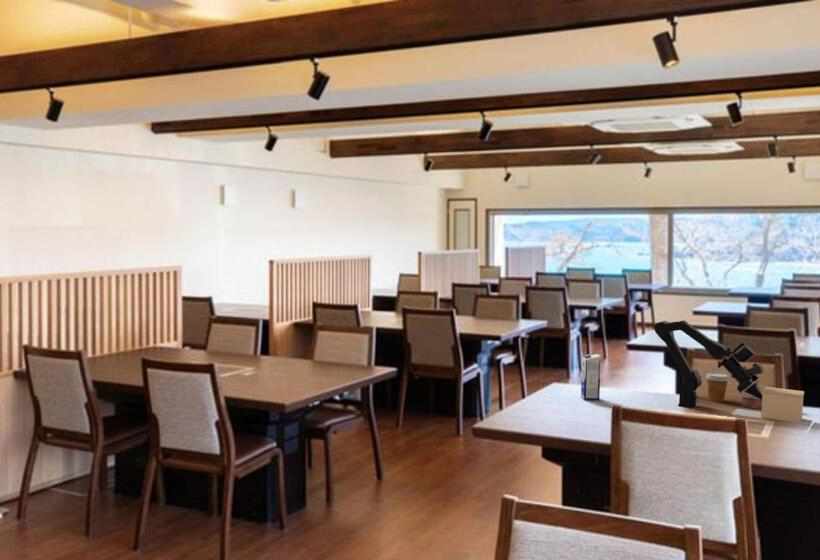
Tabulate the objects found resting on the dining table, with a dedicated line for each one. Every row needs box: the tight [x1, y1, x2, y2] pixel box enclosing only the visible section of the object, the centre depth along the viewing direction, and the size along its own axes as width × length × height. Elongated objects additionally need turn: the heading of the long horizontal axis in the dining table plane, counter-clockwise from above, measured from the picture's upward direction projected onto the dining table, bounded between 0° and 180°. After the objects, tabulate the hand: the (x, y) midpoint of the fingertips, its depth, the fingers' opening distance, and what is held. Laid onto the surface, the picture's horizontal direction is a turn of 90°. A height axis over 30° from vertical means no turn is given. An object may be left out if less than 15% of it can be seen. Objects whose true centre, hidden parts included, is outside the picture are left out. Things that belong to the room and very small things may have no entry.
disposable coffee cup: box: [705, 372, 730, 403], centre depth 348 cm, size 10×10×12 cm
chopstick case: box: [741, 394, 762, 410], centre depth 333 cm, size 20×5×5 cm, turn 57°
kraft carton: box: [760, 386, 805, 423], centre depth 316 cm, size 14×9×11 cm, turn 57°
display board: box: [731, 408, 764, 420], centre depth 320 cm, size 24×13×1 cm, turn 57°
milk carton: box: [580, 353, 602, 402], centre depth 346 cm, size 7×7×20 cm
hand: (763, 399), depth 320 cm, fingers closed, pressing on kraft carton
